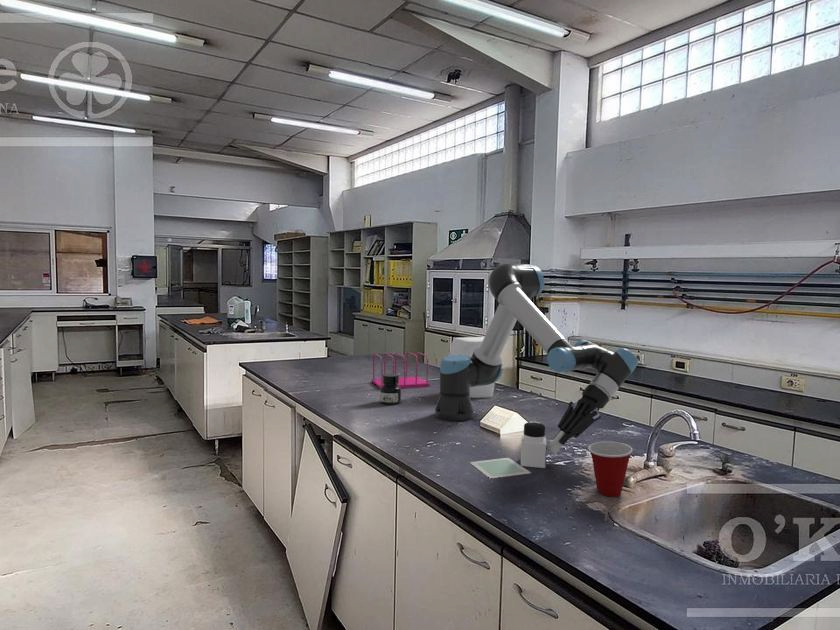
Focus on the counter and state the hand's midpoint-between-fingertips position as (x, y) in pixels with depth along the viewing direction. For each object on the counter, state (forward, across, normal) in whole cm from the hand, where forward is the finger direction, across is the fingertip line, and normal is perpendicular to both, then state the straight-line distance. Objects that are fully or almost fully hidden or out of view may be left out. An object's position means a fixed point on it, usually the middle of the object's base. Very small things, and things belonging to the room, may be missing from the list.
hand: (551, 450), depth 159 cm
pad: (+14, 0, +10) cm, 17 cm away
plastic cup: (+2, -24, -3) cm, 24 cm away
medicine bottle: (+7, 0, +2) cm, 7 cm away
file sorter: (+9, +117, +3) cm, 118 cm away
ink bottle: (+20, +83, +14) cm, 87 cm away
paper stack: (-8, +89, -14) cm, 90 cm away
